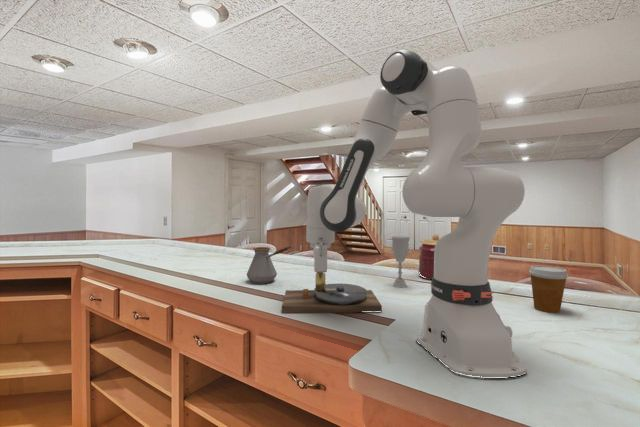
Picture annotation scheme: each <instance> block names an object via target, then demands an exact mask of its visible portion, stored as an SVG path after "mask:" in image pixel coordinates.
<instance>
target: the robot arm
mask: <svg viewBox="0 0 640 427" xmlns="http://www.w3.org/2000/svg"><path fill="white" fill-rule="evenodd" d="M379 78H380V79H379V80H380V83H381V85H382V86H380V87H377V88H376V89H375V90H374V92H372V95H371V97H370V99H369V100H368V102H367V104H366V107H365V108H364V110H363V113H362V116H361V119H360V121H359V125H358V128H357V130H356V133H355V136H354V140H353V142H352V145H351V147H350V148H351V149H350V151H349V152H348V155H347V158H346V160H345V161H344V164H343V165H342V166H343V167H342V169H341V172H340V173H339V176H338V179H337V181H336V183H335V185H334V184H332V183H320V184H315V185H313V186H311V187H310V188H309V190H308V193H307V200H306V216H307V222H306V232H305V233H306V236H305V238H306V241H305V242H306V243H308V244H309V243H310V244H309V246H310V248H311V249H312V250H313V251H312V252H313V260H314V261H313V265H314V266H313V267H314V268H313V269H314V272H315V273H327V272H328V249H329V248H331V245H332V244H333V243H335V239H336V238H335V237H336V234H335V233H342V232H344V231H347V230H348V229H350V228H351V229H352V228H353V227H355V226H357V225H359V224H361V223H362V222H363V221H364V220H365V218H366V216H367V207H366V203H365V202H364V201H363V200H362V198H359V197H358V194H359V191H360V189H361V187H362V184H363V181H364V179H365V176H366V174H367V172H368V170H369V169H370V168H371V166H373V164H375V162H376V161H378V160H379V159H381V158H383V157H385V156H386V155H387V154H388V153H389V151H390V149H391V148H392V146H393V144H394V142H395V140H396V138H397V135H398V132H399V131H400V130H399V129H400V127H401V123H402V121H403V119H404V117H405V116H406V115H407V114H408V113H411V114H412V115H413V116H421V115H426V117H427V124H428V125H427V126H428V148H427V152H426V154H425V157H424V159H423V160H422V162H421V163H419V165H418V166H417V167H416V168H415V169H413V170H412V171H411V172H410V173H409V174H408V175H407V176H406V178H405V180H404V182H403V185H402V192H401V193H402V199H403V202H404V204H405V206H406V208H407V209H408V210H409V211H410V212H411V213H412V214H415V215H420V216H426V217H430V218H458V222H457V224H456V226H455V228H454V229H453V230H452V231H451V232H449V233H447V234H445V235H443V236H442V237H439V240H438V242H437V243H436V245H435V248H434V276H433V277H432V280H431V282H430V289H431V291H430V292H431V294H432V296H431V297H430V299H429V300H428V302H427V303H426V304H425V305H424V313H423V323H422V324H423V325H422V334H420V335H417V336H416V339H415V341H416V340H417V341H418V342H419V343H420V344H421V345H422V346H423V347H424V348H426V349H427V350H428V351H429V352H430V353H432V354H433V355H434V356H436V357H437V358H438V359H440V360H441V361H442V362H443V363H444V364H445V365H447V366H448V367H449V368H450V369H451V370H453V371H454V372H458V373H462V374H465V375H472V376H480V377H481V376H482V377H511V376H518V375H522V374H524V373H526V372H527V373H528V371H527V370H528V369H527V367H526V365H525V364H524V363H523V362H522V361H521V360H520V358H518V356H517V355H516V354H515V352H513V344H512V343H513V342H512V338H513V330H512V327H511V326H509V325H505V324H504V322H503V320H502V319H501V316H500V314H499V313H498V311H497V310H496V308H495V307H494V304H493V299H494V297H493V294H494V292H493V291H492V288H491V284H490V282H489V280H488V279H489V262H490V252H491V246H492V242H493V240H494V237H495V235H496V234H497V231H498V230H499V228H500V227H501V225H502V224H503V223H504V221H506V220H507V218H508V217H509V216H511V215H512V214H513V213H515V212H516V211H517V210H518V209H519V208H520V207H521V205H522V204H523V201H524V199H525V186H524V185H525V184H524V181H523V180H522V178H521V177H520V176H519V174H518V173H516V172H515V171H513V170H512V171H511V170H508V169H503V168H500V167H499V168H498V167H493V166H492V167H491V166H464V165H462V162H461V160H462V157H463V156H466V155H468V154H469V153H471V152H472V151H474V150H475V149H476V148H477V147H478V146H479V144H480V142H481V140H482V137H483V130H482V124H481V118H480V111H479V109H480V108H479V105H478V99H477V94H476V91H475V90H476V89H475V88H474V84H473V81H472V79H471V76H470V75H469V73H468V71H467V70H466V69H465V68H463V67H461V66H458V65H451V66H450V65H449V66H446V67H443V68H440V69H437V67H435V66H434V65H433V64H432V63H431V62H430V61H428V60H426V59H425V58H423V57H421V56H420V55H419V54H418V53H416V52H415V51H411V50H408V49H397V50H395V51H394V52H392V53H391V54H390V55H389V56H388V57H387V58H386V59H385V61H384V63H383V64H382V67H381V70H380V76H379ZM422 346H421V347H422ZM423 347H422V348H423ZM424 348H423V349H424ZM428 351H427V352H428ZM429 352H428V353H429ZM430 353H429V354H430ZM434 356H433V357H434ZM527 373H526V374H527Z"/></svg>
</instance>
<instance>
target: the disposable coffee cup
mask: <svg viewBox="0 0 640 427" xmlns="http://www.w3.org/2000/svg"><path fill="white" fill-rule="evenodd" d="M528 272H529V275H530V279H531V280H530V281H531V288H532V289H531V290H532V291H531V292H532V298H533V299H532V300H533V301H532V302H533V308H534V309H535V310H538V311H541V312H545V313H553V314H555V313H560V312H561V307H562V302H563V297H564V292H565V288H566V281H567V279H568V277H569V274H568V272H567V269H565V268H563V267H557V266H550V265H531V266H530V268H529V270H528Z"/></svg>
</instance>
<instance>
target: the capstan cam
mask: <svg viewBox="0 0 640 427" xmlns="http://www.w3.org/2000/svg"><path fill="white" fill-rule="evenodd" d="M313 290H314V298H315V299H316V300H317V301H319V302H322V303H326V304H333V305H351V304H357V303H361V302H363V301H365V300H366V299H367V290H368V289H366V288H364V287H363V286H360V285H356V284H351V283H326V272H323V273H317V272H315V288H314V289H313Z"/></svg>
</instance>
